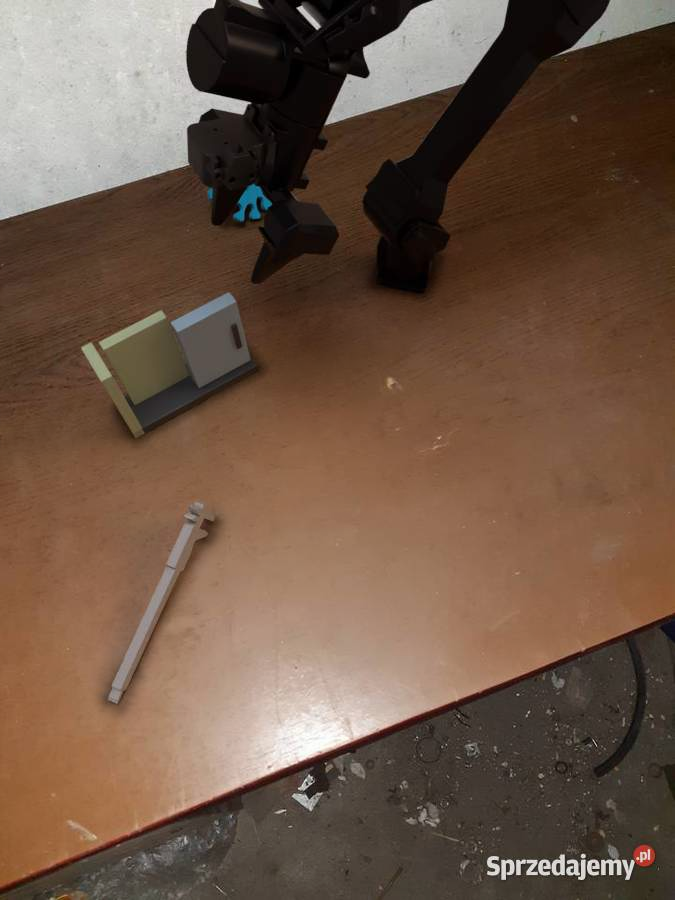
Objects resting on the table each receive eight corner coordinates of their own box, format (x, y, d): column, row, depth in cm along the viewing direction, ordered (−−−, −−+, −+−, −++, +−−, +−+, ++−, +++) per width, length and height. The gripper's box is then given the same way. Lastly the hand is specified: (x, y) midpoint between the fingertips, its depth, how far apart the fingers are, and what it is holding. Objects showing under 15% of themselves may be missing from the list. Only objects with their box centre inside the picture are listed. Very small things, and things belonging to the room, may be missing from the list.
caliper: (207, 515, 74) (194, 492, 69) (216, 518, 74) (204, 495, 69) (109, 700, 66) (85, 690, 60) (119, 705, 66) (96, 695, 60)
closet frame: (238, 342, 85) (220, 274, 74) (259, 370, 83) (244, 304, 72) (117, 407, 81) (79, 346, 70) (135, 438, 79) (100, 380, 68)
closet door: (244, 351, 82) (229, 291, 73) (252, 362, 82) (238, 303, 72) (192, 379, 81) (170, 322, 71) (200, 390, 80) (178, 334, 70)
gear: (227, 231, 91) (193, 155, 87) (212, 238, 96) (180, 166, 93) (295, 202, 95) (266, 128, 92) (277, 210, 100) (249, 140, 97)
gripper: (170, 32, 60) (127, 189, 70) (269, 161, 52) (204, 317, 62) (274, 60, 67) (221, 199, 77) (375, 177, 59) (301, 314, 69)
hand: (235, 252), depth 71 cm, fingers open, 9 cm apart
